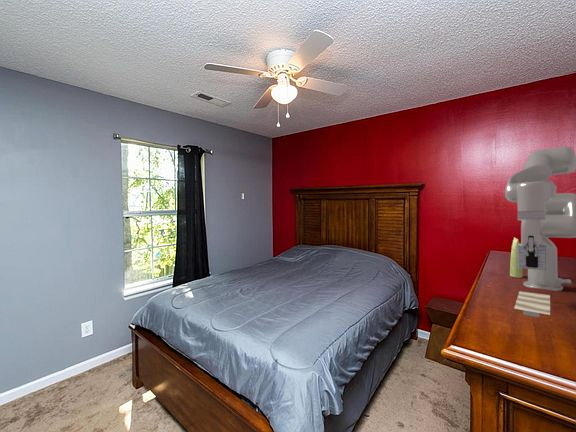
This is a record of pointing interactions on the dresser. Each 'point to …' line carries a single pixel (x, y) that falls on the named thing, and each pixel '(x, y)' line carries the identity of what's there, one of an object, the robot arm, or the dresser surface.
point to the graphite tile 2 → (530, 313)
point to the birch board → (533, 302)
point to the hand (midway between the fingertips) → (532, 265)
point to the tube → (515, 261)
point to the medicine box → (540, 253)
